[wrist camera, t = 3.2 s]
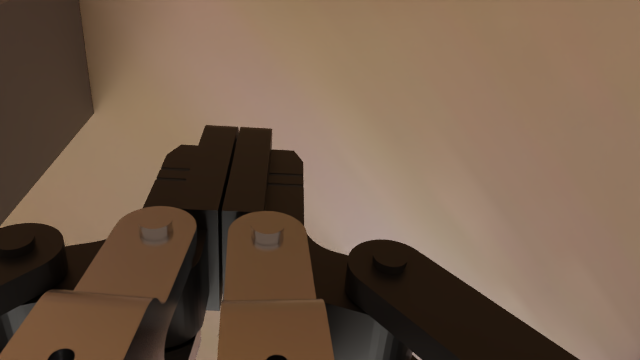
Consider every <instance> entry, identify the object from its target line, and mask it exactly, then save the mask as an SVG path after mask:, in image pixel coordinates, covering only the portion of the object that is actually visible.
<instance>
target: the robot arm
mask: <svg viewBox="0 0 640 360" xmlns="http://www.w3.org/2000/svg"><path fill="white" fill-rule="evenodd" d="M222 294H223V300H222ZM221 300H222V302H221ZM220 305H221V312H220V327H219V342H218V357H217V360H418V359H416V358H415V357H414V356H413V355H412V352H414V353H415V354H416V355H417V356H419V357H420V358H421V359H422V360H579V359H578V358H576V357H575V356H573V355H572V354H570V353H569V352H567V351H566V350H564V349H563V348H561V347H560V346H558V345H557V344H555V343H554V342H552V341H551V340H549V339H548V338H547V337H545V336H544V335H542V334H541V333H539V332H538V331H536V330H535V329H533V328H532V327H530V326H529V325H527V324H526V323H524V322H523V321H521V320H520V319H518V318H517V317H515V316H514V315H512V314H511V313H509V312H508V311H506V310H505V309H503V308H502V307H500V306H499V305H497V304H496V303H494V302H493V301H491V300H490V299H488V298H487V297H486V296H484V295H483V294H481V293H480V292H478V291H477V290H475V289H474V288H472V287H471V286H469V285H468V284H466V283H465V282H463V281H462V280H460V279H459V278H457V277H456V276H454V275H453V274H451V273H450V272H448V271H447V270H445V269H444V268H442V267H441V266H439V265H438V264H436V263H435V262H433V261H432V260H430V259H429V258H427V257H426V256H425V255H423V254H422V253H420V252H419V251H417V250H415V249H414V248H412V247H410V246H408V245H406V244H403V243H400V242H396V241H392V240H371V241H366V242H363V243H361V244H359V245H357V246H356V247H354V248H353V249H352V250H351V252H350V254H349V256H348V255H344V254H340V253H336V252H333V251H330V250H328V249H325V248H323V247H321V246H320V245H318V244H316V243H315V242H314V241H313V240H312V239H311V238H310V237H309V236H308V235H307V233H306V229H305V227H304V189H303V161H302V160H301V159H300V158H299V156H298V155H297V154H296V153H295V152H294V151H289V150H272V129H267V128H249V127H240V131H239V129H238V127H230V126H213V125H206V126H205V128H204V131H203V134H202V137H201V139H200V142H199V145H198V146H196V145H180V146H179V147H177V148H176V149H174V150H173V151H172V152H170V153H169V154H167V156H166V158H165V160H164V162H163V165H162V167H161V170H160V171H159V173H158V176H157V180H155V182H154V184H153V187H152V189H151V191H150V193H149V195H148V198H147V200H146V202H145V204H144V207H143V208H142V209H139V210H136V211H133V212H131V213H129V214H127V215H125V216H124V217H123V218H121V219H120V220H119V221H118V223H117V224H116V225H115V227H114V228H113V230H112V231H111V233H110V235H109V236H108V238H107V239H105V240H102V241H97V242H92V243H85V244H79V245H72V246H66V247H65V245H64V240H63V236H62V234H61V233H60V232H59V231H58V230H57V229H55V228H54V227H51V226H49V225H45V224H39V223H23V224H15V225H10V226H6V227H3V228H0V360H196V357H197V353H198V350H199V347H200V343H201V327H202V324H203V321H204V316H205V311H206V310H211V311H220Z"/></svg>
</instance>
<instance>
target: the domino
mask: <svg viewBox="0 0 640 360" xmlns="http://www.w3.org/2000/svg"><path fill="white" fill-rule="evenodd" d="M93 114H94V113H93V105H92V98H91V90H90V83H89V75H88V67H87V60H86V52H85V45H84V37H83V29H82V22H81V14H80V7H79V0H0V225H1V224H2V223H3V222H4V221H5V219H6V218H7V217H8V216H9V215H10V213H11V212H12V211H13V210H14V209H15V207H16V206H17V205H18V204H19V203H20V201H21V200H22V199H23V198H24V197H25V195H26V194H27V193H28V192H29V191H30V189H31V188H32V187H33V186H34V185H35V183H36V182H37V181H38V180H39V179H40V177H41V176H42V175H43V174H44V173H45V171H46V170H47V169H48V168H49V167H50V165H51V164H52V163H53V162H54V161H55V159H56V158H57V157H58V156H59V155H60V153H61V152H62V151H63V150H64V149H65V147H66V146H67V145H68V144H69V143H70V141H71V140H72V139H73V138H74V137H75V135H76V134H77V133H78V132H79V131H80V129H81V128H82V127H83V126H84V125H85V123H86V122H87V121H88V120H89V119H90V117H91V116H92V115H93Z"/></svg>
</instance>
